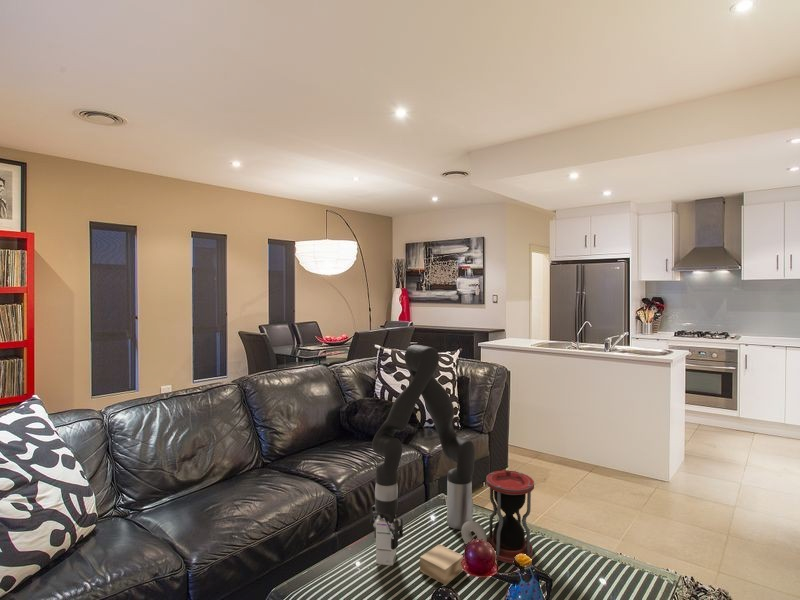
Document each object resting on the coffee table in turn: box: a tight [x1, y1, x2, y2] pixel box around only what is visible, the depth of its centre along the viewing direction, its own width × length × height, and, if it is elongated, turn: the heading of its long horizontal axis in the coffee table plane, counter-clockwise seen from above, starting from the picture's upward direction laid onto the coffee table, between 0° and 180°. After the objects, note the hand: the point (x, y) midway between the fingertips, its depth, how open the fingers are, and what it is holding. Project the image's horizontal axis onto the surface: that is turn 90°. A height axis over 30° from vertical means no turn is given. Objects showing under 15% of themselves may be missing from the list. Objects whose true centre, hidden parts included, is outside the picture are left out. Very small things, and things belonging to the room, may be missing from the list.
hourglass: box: [485, 470, 535, 564], centre depth 165 cm, size 16×16×25 cm
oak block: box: [419, 543, 464, 586], centre depth 154 cm, size 10×10×5 cm
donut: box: [460, 520, 488, 545], centre depth 166 cm, size 10×4×10 cm, turn 47°
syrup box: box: [375, 518, 397, 566], centre depth 159 cm, size 6×6×14 cm
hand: (385, 542), depth 159 cm, fingers open, 8 cm apart
